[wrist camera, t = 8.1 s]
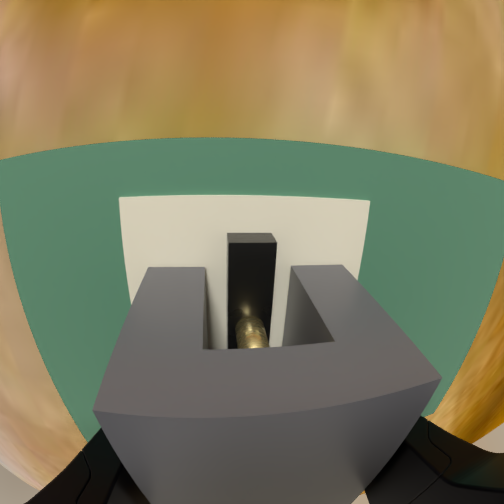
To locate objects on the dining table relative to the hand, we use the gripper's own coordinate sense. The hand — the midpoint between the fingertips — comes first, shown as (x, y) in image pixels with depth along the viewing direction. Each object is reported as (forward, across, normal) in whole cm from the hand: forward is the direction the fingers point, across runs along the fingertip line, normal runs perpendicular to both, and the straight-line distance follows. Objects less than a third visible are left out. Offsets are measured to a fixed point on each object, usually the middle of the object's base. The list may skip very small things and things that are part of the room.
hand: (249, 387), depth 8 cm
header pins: (+1, 0, 0) cm, 1 cm away
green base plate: (+2, -2, 0) cm, 3 cm away
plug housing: (+1, 0, 0) cm, 1 cm away
